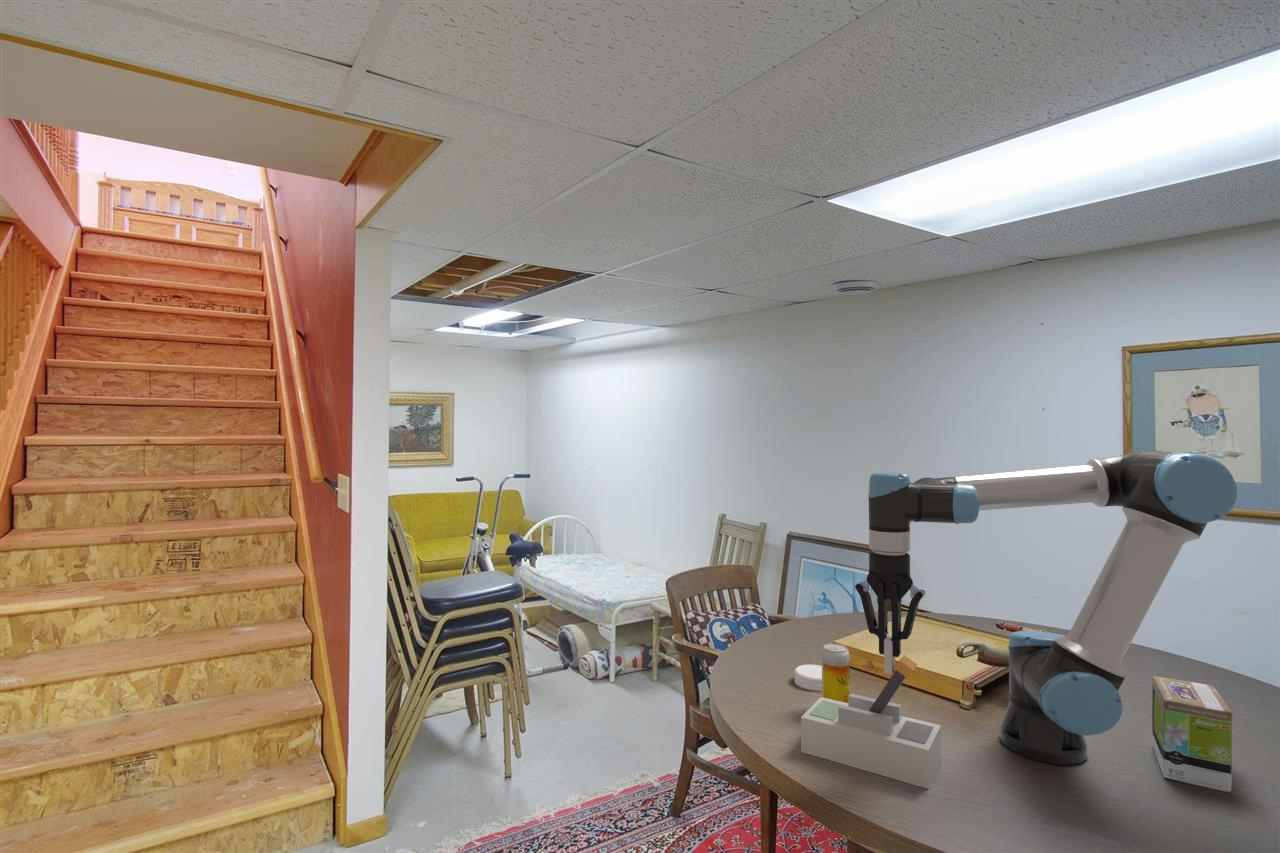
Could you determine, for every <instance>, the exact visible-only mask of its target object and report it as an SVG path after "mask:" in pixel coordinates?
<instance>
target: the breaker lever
mask: <svg viewBox="0 0 1280 853" xmlns="http://www.w3.org/2000/svg"><path fill="white" fill-rule="evenodd" d="M917 666H918V664H917V662H914V661H913V660H912V659H911V658H909V657H907V656H906V655H905V654H903V656H902V657H901V658H900V659H899V661H898V662H897V664H895V668H894V669H895V672H894V673H893V674H892V675H891V676H890V678H889V680H888V681H887V683H885V684H886V685H885V686H884V688H883V689H882V690H881V691H880V693H879V695H878V696H877V697H876V698H875V699H876V701H875V702H874V704H873V705H872V707H871V708H870V710H869V711H870V712H874V713H878V714H881V713H882V712H883V710H884V709H885V707H886V706H887V704H888V703H889V702H890V701H891V700H892V698H893V697H894V695H895V693H896V692H897V691H898V690H899V688H900V687H901V685H902V683H903V682H904V681H905V679H909V677H910V676H911V674H912V673H913V671H914V670H915V668H916V667H917Z"/></svg>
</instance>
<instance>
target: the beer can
mask: <svg viewBox="0 0 1280 853" xmlns="http://www.w3.org/2000/svg"><path fill="white" fill-rule="evenodd" d="M821 666H822V691H821V697H823V698H827V699H832V700H836V701H840V702H844V703H848V696H849V695H850V694H851V692H850V689H851V688H850V680H851V679H850V673H851V672H850V670H851V669H850V652H849V649H848V647H847V646H846V645H843V644H839V643H827V644H824V645H823V648H822V650H821Z"/></svg>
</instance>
